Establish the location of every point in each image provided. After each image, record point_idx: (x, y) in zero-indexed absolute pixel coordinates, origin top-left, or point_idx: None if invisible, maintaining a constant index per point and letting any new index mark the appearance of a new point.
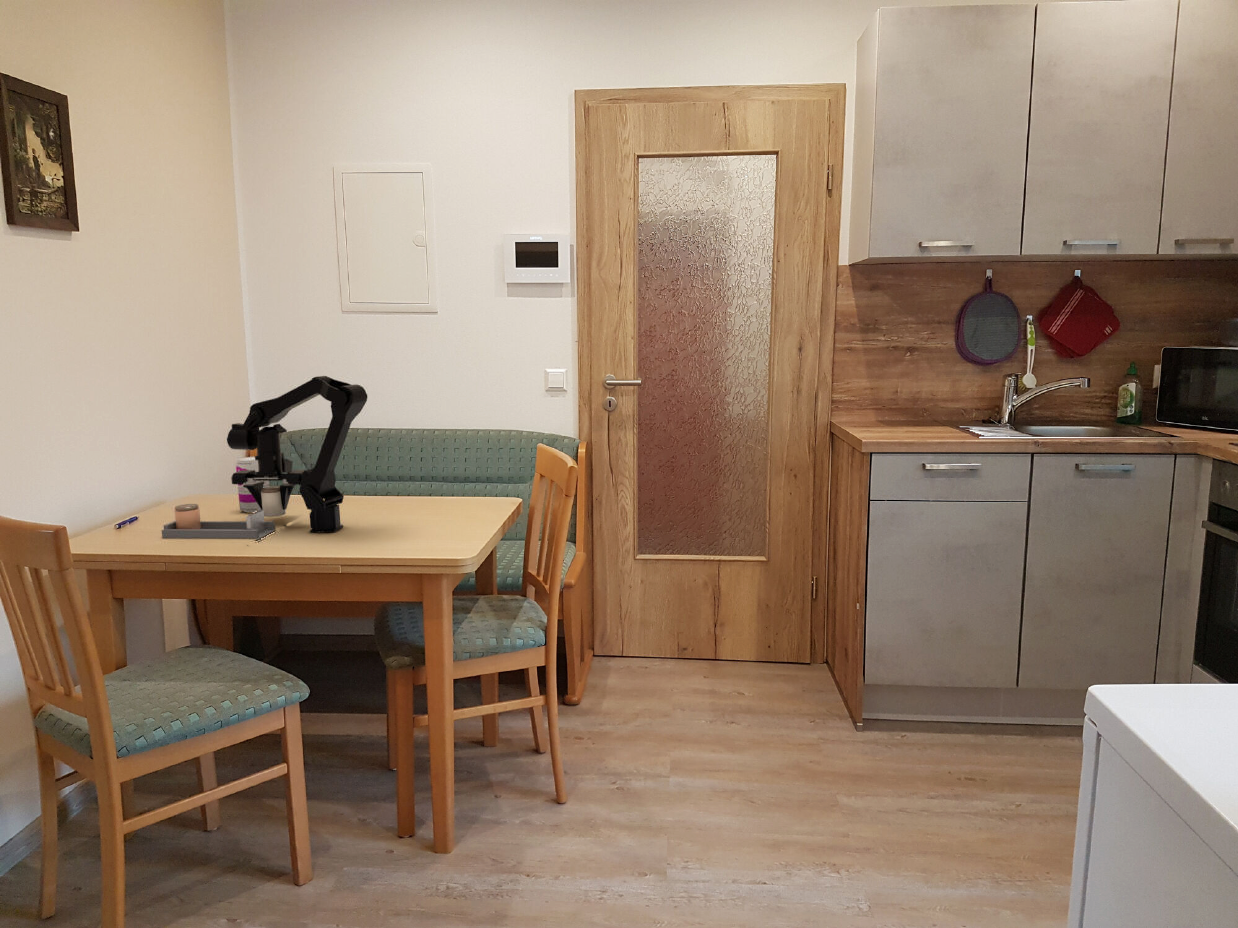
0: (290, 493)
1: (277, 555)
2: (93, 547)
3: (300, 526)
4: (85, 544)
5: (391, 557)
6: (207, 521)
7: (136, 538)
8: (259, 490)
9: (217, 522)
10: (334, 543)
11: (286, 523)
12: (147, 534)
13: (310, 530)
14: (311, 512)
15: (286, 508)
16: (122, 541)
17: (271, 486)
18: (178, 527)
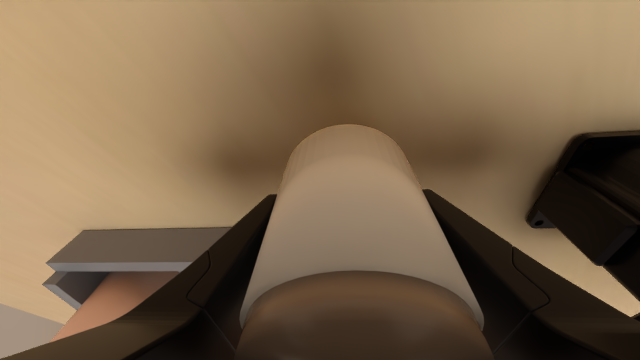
0: (547, 280)
1: None
2: (56, 315)
3: (466, 131)
4: (10, 303)
5: None
6: (135, 265)
7: (41, 274)
8: (226, 350)
9: (181, 269)
10: (604, 297)
11: (367, 74)
12: (10, 248)
13: (533, 225)
14: (612, 275)
15: (431, 191)
16: (48, 290)
17: (284, 330)
18: None
